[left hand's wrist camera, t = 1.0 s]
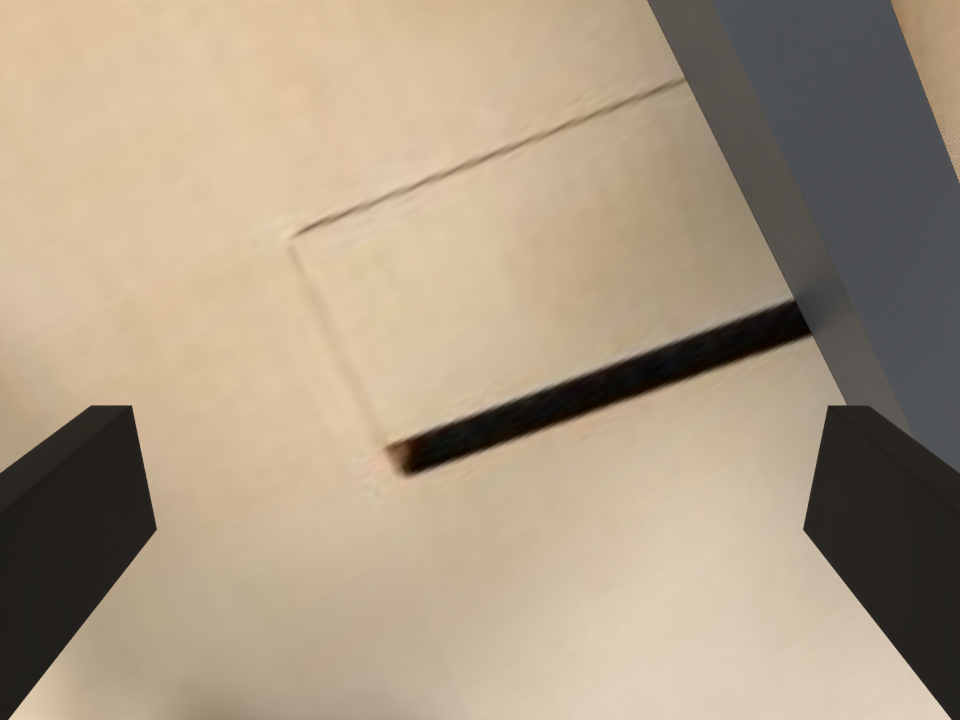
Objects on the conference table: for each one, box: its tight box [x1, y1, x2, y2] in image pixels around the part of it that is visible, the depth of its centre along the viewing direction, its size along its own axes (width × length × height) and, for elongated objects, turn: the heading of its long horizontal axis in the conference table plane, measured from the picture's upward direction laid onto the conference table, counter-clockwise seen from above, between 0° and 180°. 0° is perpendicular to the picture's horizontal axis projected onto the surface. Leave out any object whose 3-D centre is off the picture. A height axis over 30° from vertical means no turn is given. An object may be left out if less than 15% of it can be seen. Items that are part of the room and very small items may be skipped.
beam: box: [647, 0, 960, 473], centre depth 29 cm, size 66×6×8 cm, turn 33°
